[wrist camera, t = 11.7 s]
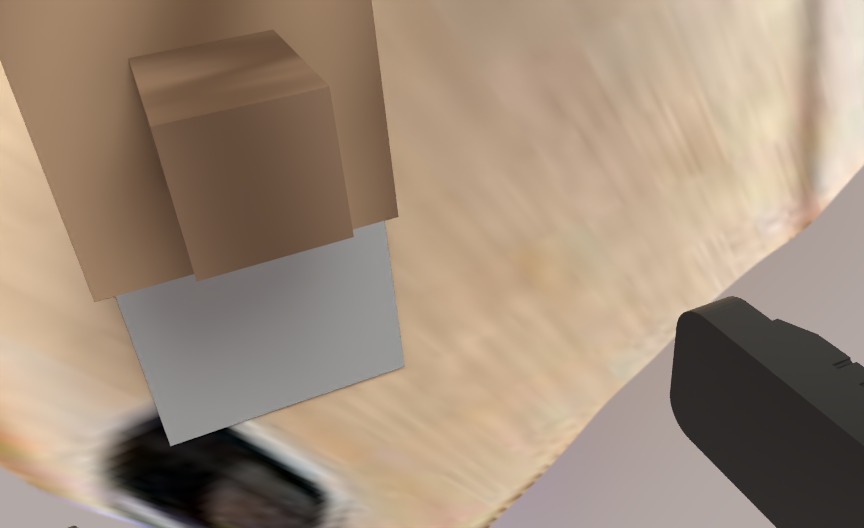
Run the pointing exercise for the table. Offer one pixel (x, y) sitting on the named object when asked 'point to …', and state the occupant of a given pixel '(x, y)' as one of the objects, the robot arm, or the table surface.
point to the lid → (201, 129)
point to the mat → (266, 333)
